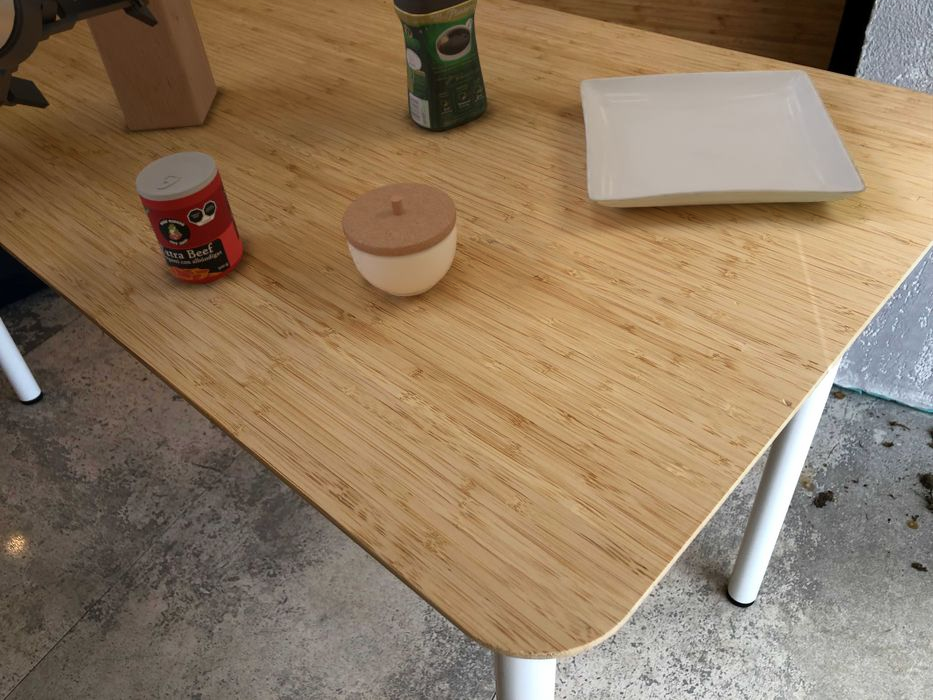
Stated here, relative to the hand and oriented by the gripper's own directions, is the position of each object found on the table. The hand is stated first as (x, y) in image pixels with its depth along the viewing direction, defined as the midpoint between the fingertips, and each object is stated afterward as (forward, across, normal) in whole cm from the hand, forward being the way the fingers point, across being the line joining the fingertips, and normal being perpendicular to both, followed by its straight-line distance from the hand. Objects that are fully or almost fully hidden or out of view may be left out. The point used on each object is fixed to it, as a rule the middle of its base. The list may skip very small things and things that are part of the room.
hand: (92, 54), depth 83 cm
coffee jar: (+25, +26, -23) cm, 43 cm away
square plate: (+12, +47, -44) cm, 65 cm away
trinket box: (-3, +13, -36) cm, 38 cm away
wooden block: (+33, -4, -1) cm, 33 cm away
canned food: (+2, -4, -22) cm, 23 cm away
